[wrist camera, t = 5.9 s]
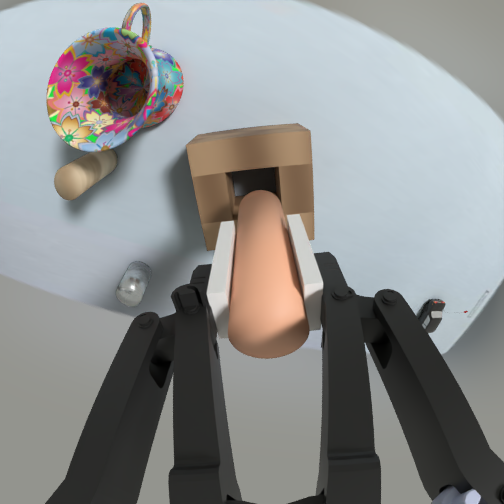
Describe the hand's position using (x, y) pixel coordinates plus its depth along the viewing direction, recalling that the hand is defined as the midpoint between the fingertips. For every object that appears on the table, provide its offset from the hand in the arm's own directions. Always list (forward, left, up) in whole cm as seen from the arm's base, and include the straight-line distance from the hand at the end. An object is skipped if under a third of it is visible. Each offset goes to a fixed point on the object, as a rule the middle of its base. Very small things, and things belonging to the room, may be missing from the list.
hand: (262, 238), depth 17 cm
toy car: (+27, -24, -14) cm, 39 cm away
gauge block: (0, 0, -14) cm, 14 cm away
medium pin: (-16, +5, -14) cm, 22 cm away
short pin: (-16, -10, -14) cm, 24 cm away
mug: (-9, +12, -14) cm, 21 cm away
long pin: (0, 0, -4) cm, 4 cm away
